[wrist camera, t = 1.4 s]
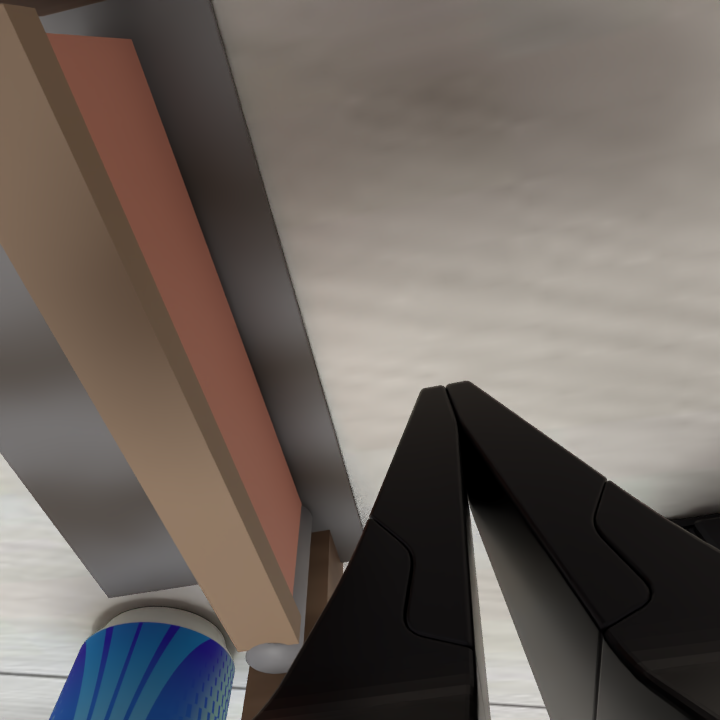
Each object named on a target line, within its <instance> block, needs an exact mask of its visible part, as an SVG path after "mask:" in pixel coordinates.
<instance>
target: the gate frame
mask: <svg viewBox="0 0 720 720" xmlns="http://www.w3.org/2000/svg"><path fill="white" fill-rule="evenodd" d="M1 3H4V4H11V5H18V6H24V7H31V8H35V9H36V12H37V14H38V16H39V19H40V21H41V23H42V25H43V28H44V30H45V32H46V33H53V34H67V35H80V36H94V37H108V38H121V39H132V42H133V45H134V47H135V50H136V53H137V56H138V58H139V61H140V64H141V67H142V69H143V72H144V75H145V78H146V80H147V83H148V86H149V88H150V91H151V94H152V97H153V99H154V102H155V105H156V108H157V110H158V113H159V116H160V118H161V121H162V124H163V127H164V129H165V132H166V135H167V138H168V140H169V143H170V146H171V149H172V151H173V154H174V157H175V159H176V162H177V165H178V168H179V170H180V173H181V176H182V179H183V181H184V184H185V187H186V189H187V192H188V195H189V198H190V200H191V203H192V206H193V209H194V211H195V214H196V217H197V220H198V222H199V225H200V228H201V230H202V233H203V236H204V239H205V241H206V244H207V247H208V250H209V252H210V255H211V258H212V260H213V263H214V266H215V269H216V271H217V274H218V277H219V280H220V282H221V285H222V288H223V291H224V293H225V296H226V299H227V301H228V304H229V307H230V310H231V312H232V315H233V318H234V321H235V323H236V326H237V329H238V331H239V334H240V337H241V340H242V342H243V345H244V348H245V351H246V353H247V356H248V359H249V361H250V364H251V367H252V370H253V372H254V375H255V378H256V381H257V383H258V386H259V389H260V392H261V394H262V397H263V400H264V402H265V405H266V408H267V411H268V413H269V416H270V419H271V422H272V424H273V427H274V430H275V432H276V435H277V438H278V441H279V443H280V446H281V449H282V452H283V454H284V457H285V460H286V463H287V465H288V468H289V471H290V473H291V476H292V479H293V482H294V484H295V487H296V490H297V493H298V495H299V498H300V501H301V503H302V506H304V507H306V508H307V509H308V510H309V511H310V513H311V515H312V530H311V544H310V558H309V572H308V586H307V600H306V614H305V628H304V642H305V640H306V639H307V637H308V635H309V633H310V632H311V630H312V628H313V626H314V625H315V623H316V621H317V620H318V618H319V616H320V614H321V613H322V611H323V609H324V607H325V606H326V604H327V602H328V601H329V599H330V597H331V595H332V593H333V592H334V590H335V588H336V586H337V584H338V582H339V581H340V579H341V577H342V575H343V562H349V561H350V559H351V557H352V555H353V553H354V550H355V548H356V546H357V544H358V542H359V539H360V537H361V535H362V532H363V528H362V525H361V521H360V518H359V514H358V511H357V508H356V504H355V501H354V497H353V494H352V490H351V487H350V483H349V480H348V476H347V473H346V469H345V466H344V463H343V459H342V456H341V452H340V449H339V445H338V442H337V438H336V435H335V431H334V428H333V424H332V421H331V418H330V414H329V411H328V407H327V404H326V400H325V397H324V393H323V390H322V386H321V383H320V379H319V376H318V372H317V369H316V366H315V362H314V359H313V355H312V352H311V348H310V345H309V341H308V338H307V334H306V331H305V327H304V324H303V321H302V317H301V314H300V310H299V307H298V303H297V300H296V296H295V293H294V289H293V286H292V282H291V279H290V275H289V272H288V269H287V265H286V262H285V258H284V255H283V251H282V248H281V244H280V241H279V237H278V234H277V230H276V227H275V224H274V220H273V217H272V213H271V210H270V206H269V203H268V199H267V196H266V192H265V189H264V185H263V182H262V179H261V175H260V172H259V168H258V165H257V161H256V158H255V154H254V151H253V147H252V144H251V140H250V137H249V133H248V130H247V127H246V123H245V120H244V116H243V113H242V109H241V106H240V102H239V99H238V95H237V92H236V88H235V85H234V82H233V78H232V75H231V71H230V68H229V64H228V61H227V57H226V54H225V50H224V47H223V43H222V40H221V36H220V33H219V30H218V26H217V23H216V19H215V16H214V12H213V9H212V5H211V2H210V0H0V4H1ZM0 453H1V454H2V456H3V457H4V458H5V460H6V461H7V462H8V464H9V465H10V466H11V468H12V469H13V470H14V472H15V473H16V474H17V476H18V477H19V478H20V480H21V481H22V482H23V484H24V485H25V486H26V488H27V489H28V490H29V492H30V493H31V494H32V496H33V497H34V498H35V500H36V501H37V503H38V504H39V505H40V507H41V508H42V509H43V511H44V512H45V513H46V515H47V516H48V517H49V519H50V520H51V521H52V523H53V524H54V525H55V527H56V528H57V529H58V531H59V532H60V533H61V535H62V536H63V537H64V539H65V540H66V541H67V543H68V544H69V545H70V547H71V548H72V549H73V551H74V552H75V553H76V555H77V556H78V558H79V559H80V560H81V562H82V563H83V564H84V566H85V567H86V568H87V570H88V571H89V572H90V574H91V575H92V576H93V578H94V579H95V580H96V582H97V583H98V584H99V586H100V587H101V588H102V590H103V591H104V592H105V594H106V595H107V596H108V598H112V597H119V596H125V595H132V594H138V593H145V592H151V591H158V590H165V589H171V588H178V587H184V586H191V585H197V584H198V582H197V581H196V579H195V577H194V575H193V574H192V572H191V570H190V568H189V567H188V565H187V563H186V562H185V560H184V558H183V556H182V555H181V553H180V551H179V550H178V548H177V546H176V544H175V543H174V541H173V539H172V538H171V536H170V534H169V532H168V531H167V529H166V527H165V526H164V524H163V522H162V520H161V519H160V517H159V515H158V514H157V512H156V510H155V508H154V507H153V505H152V503H151V502H150V500H149V498H148V496H147V495H146V493H145V491H144V489H143V488H142V486H141V484H140V483H139V481H138V479H137V477H136V476H135V474H134V472H133V471H132V469H131V467H130V465H129V464H128V462H127V460H126V459H125V457H124V455H123V453H122V452H121V450H120V448H119V447H118V445H117V443H116V441H115V440H114V438H113V436H112V435H111V433H110V431H109V429H108V428H107V426H106V424H105V422H104V421H103V419H102V417H101V416H100V414H99V412H98V410H97V409H96V407H95V405H94V404H93V402H92V400H91V398H90V397H89V395H88V393H87V392H86V390H85V388H84V386H83V385H82V383H81V381H80V380H79V378H78V376H77V374H76V373H75V371H74V369H73V368H72V366H71V364H70V362H69V361H68V359H67V357H66V355H65V354H64V352H63V350H62V349H61V347H60V345H59V343H58V342H57V340H56V338H55V337H54V335H53V333H52V331H51V330H50V328H49V326H48V325H47V323H46V321H45V319H44V318H43V316H42V314H41V313H40V311H39V309H38V307H37V306H36V304H35V302H34V301H33V299H32V297H31V295H30V294H29V292H28V290H27V288H26V287H25V285H24V283H23V282H22V280H21V278H20V276H19V275H18V273H17V271H16V270H15V268H14V266H13V264H12V263H11V261H10V259H9V258H8V256H7V254H6V252H5V251H4V249H3V247H2V246H1V244H0ZM304 642H303V644H304ZM285 675H286V673H281V674H269V673H264V672H260V671H257V670H255V669H254V668H252V667H251V666H250V667H249V674H248V680H247V686H246V693H245V699H244V706H243V712H242V718H241V720H252V719H253V718H254V717H255V716H256V715H257V713H258V712H259V711H260V710H261V709H262V708H263V706H264V705H265V704H266V703H267V702H268V700H269V699H270V698H271V696H272V695H273V693H274V692H275V691H276V689H277V688H278V686H279V685H280V683H281V681H282V680H283V678H284V676H285Z"/></svg>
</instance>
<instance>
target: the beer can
mask: <svg viewBox="0 0 720 720" xmlns="http://www.w3.org/2000/svg"><path fill="white" fill-rule="evenodd" d="M234 672H235V666H234V661H233V659H232V656H231V655H230V653H229V651H228V650H227V649H226V643H225V639H224V637H223V635H222V634H221V632H220V631H219V630H218V629H217V627H215V626H214V625H213V624H212V623H211V622H209V621H208V620H206V619H204V618H202V617H200V616H198V615H196V614H193V613H191V612H188V611H184V610H180V609H175V608H168V607H144V608H137V609H133V610H129V611H126V612H124V613H122V614H119V615H118V616H116V617H115V618H113V619H112V620H111V621H110V622H109V623H108V624H107V625H106V626H105V627H104V628H102V629H100V630H98V631H97V632H95V633H94V634H92V635H91V636H90V637H89V638H88V639H87V640H86V641H85V642H84V644H83V645H82V647H81V649H80V651H79V654H78V656H77V658H76V660H75V663H74V665H73V667H72V669H71V672H70V674H69V676H68V678H67V680H66V683H65V685H64V687H63V689H62V692H61V694H60V696H59V698H58V701H57V703H56V705H55V707H54V710H53V712H52V714H51V716H50V719H49V720H226V717H227V711H228V706H229V700H230V695H231V689H232V683H233V678H234Z"/></svg>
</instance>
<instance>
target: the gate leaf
mask: <svg viewBox="0 0 720 720" xmlns="http://www.w3.org/2000/svg"><path fill="white" fill-rule="evenodd" d="M0 244H1V246H2V247H3V249H4V251H5V252H6V254H7V256H8V258H9V259H10V261H11V263H12V264H13V266H14V268H15V270H16V271H17V273H18V275H19V276H20V278H21V280H22V282H23V283H24V285H25V287H26V288H27V290H28V292H29V294H30V295H31V297H32V299H33V301H34V302H35V304H36V306H37V307H38V309H39V311H40V313H41V314H42V316H43V318H44V319H45V321H46V323H47V325H48V326H49V328H50V330H51V331H52V333H53V335H54V337H55V338H56V340H57V342H58V343H59V345H60V347H61V349H62V350H63V352H64V354H65V355H66V357H67V359H68V361H69V362H70V364H71V366H72V368H73V369H74V371H75V373H76V374H77V376H78V378H79V380H80V381H81V383H82V385H83V386H84V388H85V390H86V392H87V393H88V395H89V397H90V398H91V400H92V402H93V404H94V405H95V407H96V409H97V410H98V412H99V414H100V416H101V417H102V419H103V421H104V422H105V424H106V426H107V428H108V429H109V431H110V433H111V435H112V436H113V438H114V440H115V441H116V443H117V445H118V447H119V448H120V450H121V452H122V453H123V455H124V457H125V459H126V460H127V462H128V464H129V465H130V467H131V469H132V471H133V472H134V474H135V476H136V477H137V479H138V481H139V483H140V484H141V486H142V488H143V489H144V491H145V493H146V495H147V496H148V498H149V500H150V502H151V503H152V505H153V507H154V508H155V510H156V512H157V514H158V515H159V517H160V519H161V520H162V522H163V524H164V526H165V527H166V529H167V531H168V532H169V534H170V536H171V538H172V539H173V541H174V543H175V544H176V546H177V548H178V550H179V551H180V553H181V555H182V556H183V558H184V560H185V562H186V563H187V565H188V567H189V568H190V570H191V572H192V574H193V575H194V577H195V579H196V581H197V582H198V584H199V586H200V587H201V589H202V591H203V593H204V594H205V596H206V598H207V599H208V601H209V603H210V605H211V606H212V608H213V610H214V611H215V613H216V615H217V617H218V618H219V620H220V622H221V623H222V625H223V627H224V629H225V630H226V632H227V634H228V635H229V637H230V639H231V641H232V642H233V644H234V646H235V648H236V649H237V651H238V652H243V651H247V652H246V661H247V663H248V664H249V665H250V666H251V667H252V668H254V669H255V670H257V671H260V672H264V673H269V674H281V673H287V671H288V670H289V668H290V666H291V664H292V663H293V661H294V659H295V658H296V656H297V654H298V652H299V651H300V649H301V647H302V645H303V642H304V628H305V614H306V600H307V586H308V572H309V558H310V544H311V530H312V515H311V513H310V511H309V510H308V509H307V508H306V507H304V506H302V503H301V501H300V498H299V495H298V493H297V490H296V487H295V484H294V482H293V479H292V476H291V473H290V471H289V468H288V465H287V463H286V460H285V457H284V454H283V452H282V449H281V446H280V443H279V441H278V438H277V435H276V432H275V430H274V427H273V424H272V422H271V419H270V416H269V413H268V411H267V408H266V405H265V402H264V400H263V397H262V394H261V392H260V389H259V386H258V383H257V381H256V378H255V375H254V372H253V370H252V367H251V364H250V361H249V359H248V356H247V353H246V351H245V348H244V345H243V342H242V340H241V337H240V334H239V331H238V329H237V326H236V323H235V321H234V318H233V315H232V312H231V310H230V307H229V304H228V301H227V299H226V296H225V293H224V291H223V288H222V285H221V282H220V280H219V277H218V274H217V271H216V269H215V266H214V263H213V260H212V258H211V255H210V252H209V250H208V247H207V244H206V241H205V239H204V236H203V233H202V230H201V228H200V225H199V222H198V220H197V217H196V214H195V211H194V209H193V206H192V203H191V200H190V198H189V195H188V192H187V189H186V187H185V184H184V181H183V179H182V176H181V173H180V170H179V168H178V165H177V162H176V159H175V157H174V154H173V151H172V149H171V146H170V143H169V140H168V138H167V135H166V132H165V129H164V127H163V124H162V121H161V118H160V116H159V113H158V110H157V108H156V105H155V102H154V99H153V97H152V94H151V91H150V88H149V86H148V83H147V80H146V78H145V75H144V72H143V69H142V67H141V64H140V61H139V58H138V56H137V53H136V50H135V47H134V45H133V42H132V39H121V38H108V37H94V36H80V35H67V34H53V33H46V32H45V30H44V28H43V25H42V23H41V21H40V19H39V16H38V14H37V12H36V9H35V8H31V7H24V6H18V5H11V4H4V3H1V4H0Z"/></svg>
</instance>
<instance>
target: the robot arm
mask: <svg viewBox="0 0 720 720" xmlns="http://www.w3.org/2000/svg"><path fill="white" fill-rule="evenodd" d="M468 501H469V503H468ZM469 505H470V509H471V511H472V514H473V517H474V520H475V523H476V525H477V528H478V531H479V533H480V536H481V538H482V541H483V544H484V546H485V549H486V552H487V554H488V557H489V559H490V562H491V565H492V567H493V570H494V573H495V575H496V578H497V580H498V583H499V586H500V588H501V591H502V594H503V596H504V599H505V602H506V604H507V607H508V609H509V612H510V615H511V617H512V620H513V623H514V625H515V628H516V630H517V633H518V636H519V638H520V641H521V644H522V646H523V649H524V651H525V654H526V657H527V659H528V662H529V665H530V667H531V670H532V672H533V675H534V678H535V680H536V683H537V686H538V688H539V691H540V693H541V696H542V699H543V701H544V704H545V707H546V709H547V712H548V714H549V717H550V720H720V514H713V515H707V516H700V517H694V518H687V519H680V520H674V521H670V520H668V519H666V518H665V517H663V516H662V515H660V514H659V513H657V512H656V511H654V510H653V509H651V508H650V507H648V506H647V505H645V504H644V503H642V502H641V501H639V500H638V499H636V498H635V497H633V496H632V495H630V494H629V493H627V492H626V491H625V490H623V489H622V488H620V487H619V486H617V485H616V484H615V483H613V482H612V481H607V479H606V477H604V476H603V475H602V474H600V473H599V472H597V471H596V470H594V469H593V468H592V467H590V466H589V465H587V464H586V463H585V462H583V461H582V460H580V459H579V458H578V457H576V456H575V455H573V454H572V453H570V452H569V451H568V450H566V449H565V448H563V447H562V446H561V445H559V444H558V443H556V442H555V441H553V440H552V439H551V438H549V437H548V436H546V435H545V434H544V433H542V432H541V431H539V430H538V429H537V428H535V427H534V426H532V425H531V424H529V423H528V422H527V421H525V420H524V419H522V418H521V417H520V416H518V415H517V414H515V413H514V412H512V411H511V410H510V409H508V408H507V407H505V406H504V405H503V404H501V403H500V402H498V401H497V400H495V399H494V398H493V397H491V396H490V395H488V394H487V393H486V392H484V391H483V390H481V389H480V388H479V387H477V386H476V385H474V384H473V383H471V382H470V381H462V382H457V383H451V384H448V385H447V386H446V388H445V387H444V386H442V385H440V386H434V387H429V388H424V389H422V390H421V391H420V394H419V396H418V398H417V401H416V403H415V406H414V408H413V411H412V413H411V416H410V418H409V420H408V423H407V425H406V428H405V430H404V433H403V435H402V438H401V440H400V442H399V445H398V447H397V450H396V452H395V455H394V457H393V460H392V462H391V464H390V467H389V469H388V472H387V474H386V477H385V479H384V482H383V484H382V486H381V489H380V491H379V494H378V496H377V499H376V501H375V503H374V506H373V508H372V511H371V513H370V516H369V518H370V519H368V520H367V522H366V525H365V527H364V530H363V532H362V535H361V537H360V539H359V542H358V544H357V546H356V548H355V550H354V553H353V555H352V557H351V559H350V561H349V564H348V566H347V568H346V569H345V571H344V573H343V575H342V577H341V579H340V581H339V582H338V584H337V586H336V588H335V590H334V592H333V593H332V595H331V597H330V599H329V601H328V602H327V604H326V606H325V607H324V609H323V611H322V613H321V614H320V616H319V618H318V620H317V621H316V623H315V625H314V626H313V628H312V630H311V632H310V633H309V635H308V637H307V639H306V640H305V642H304V644H303V645H302V647H301V649H300V651H299V652H298V654H297V656H296V658H295V659H294V661H293V663H292V664H291V666H290V668H289V670H288V671H287V673H286V675H285V676H284V678H283V680H282V681H281V683H280V685H279V686H278V688H277V689H276V691H275V692H274V693H273V695H272V696H271V698H270V699H269V700H268V702H267V703H266V704H265V705H264V706H263V708H262V709H261V710H260V711H259V712H258V713H257V715H256V716H255V717H254V718H253V719H252V720H491V717H490V707H489V697H488V687H487V677H486V667H485V657H484V647H483V637H482V627H481V617H480V607H479V598H478V588H477V578H476V568H475V558H474V548H473V538H472V528H471V519H470V511H469Z"/></svg>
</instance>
